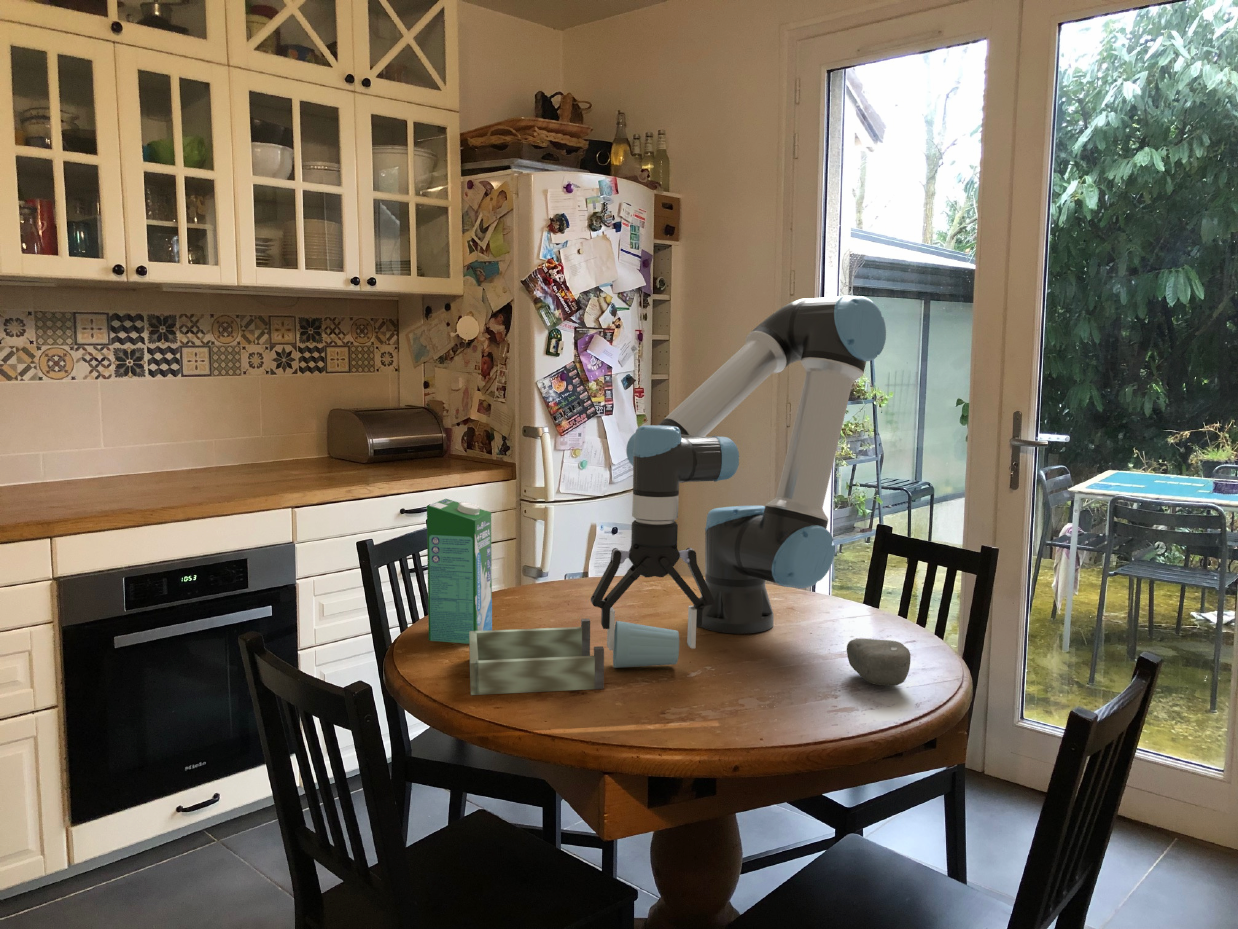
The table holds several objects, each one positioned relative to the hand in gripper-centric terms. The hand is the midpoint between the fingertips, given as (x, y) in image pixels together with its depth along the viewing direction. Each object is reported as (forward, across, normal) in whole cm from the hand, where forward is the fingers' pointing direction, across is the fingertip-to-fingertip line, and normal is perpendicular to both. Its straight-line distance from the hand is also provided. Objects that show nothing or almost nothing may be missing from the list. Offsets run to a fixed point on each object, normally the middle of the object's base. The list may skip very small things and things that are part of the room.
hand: (651, 647), depth 161 cm
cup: (+4, -3, 0) cm, 5 cm away
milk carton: (+4, +31, -23) cm, 39 cm away
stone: (+4, -36, +8) cm, 37 cm away
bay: (+4, +19, 0) cm, 20 cm away
